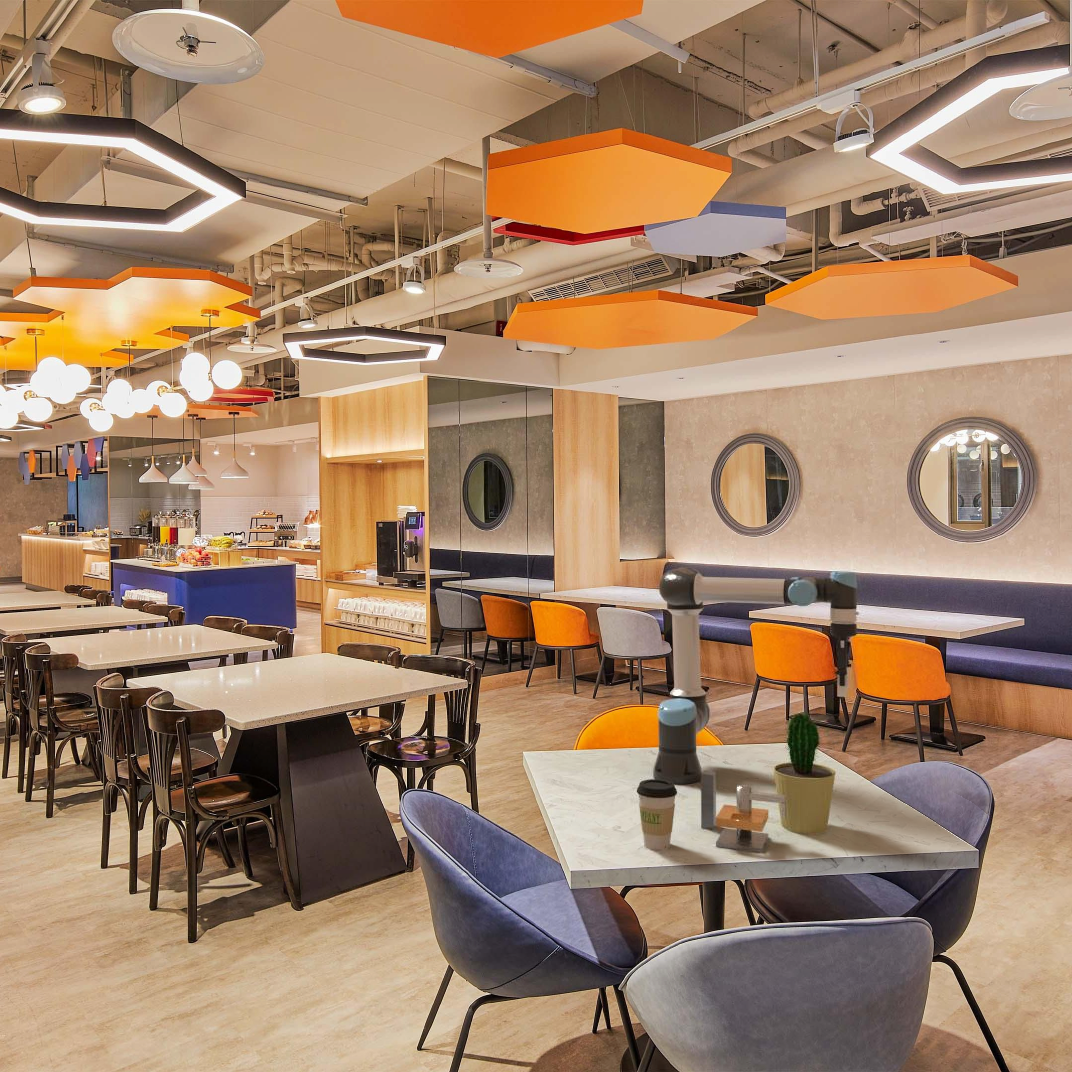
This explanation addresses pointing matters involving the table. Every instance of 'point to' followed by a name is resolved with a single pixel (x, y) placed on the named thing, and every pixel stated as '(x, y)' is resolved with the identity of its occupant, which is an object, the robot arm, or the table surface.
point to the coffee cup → (656, 812)
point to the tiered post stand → (746, 820)
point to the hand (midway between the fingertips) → (843, 692)
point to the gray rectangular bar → (708, 799)
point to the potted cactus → (804, 780)
